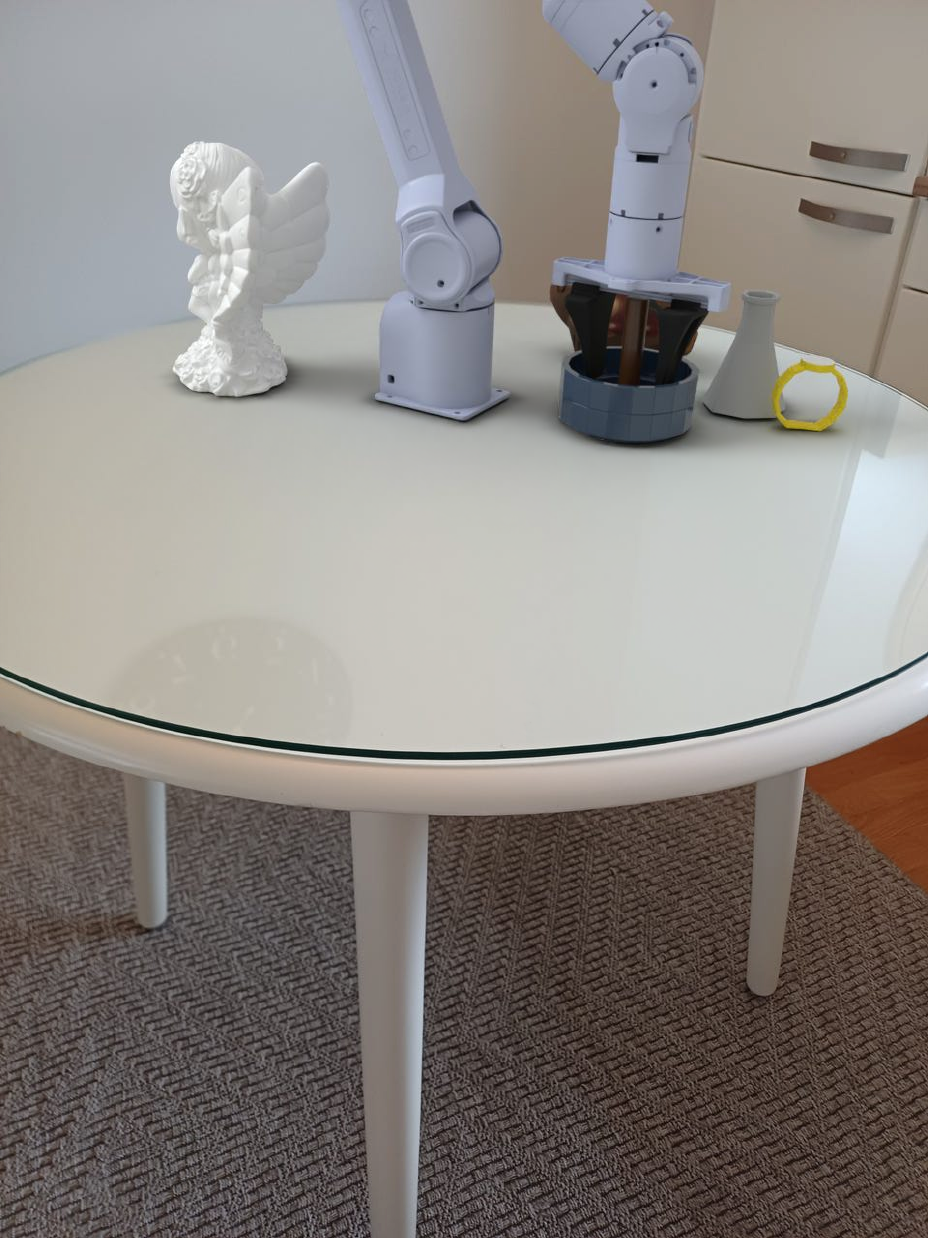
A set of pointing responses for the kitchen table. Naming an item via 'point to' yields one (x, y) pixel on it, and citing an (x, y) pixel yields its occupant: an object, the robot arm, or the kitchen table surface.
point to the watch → (818, 366)
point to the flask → (749, 363)
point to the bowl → (626, 400)
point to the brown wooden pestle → (633, 340)
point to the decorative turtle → (614, 319)
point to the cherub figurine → (242, 261)
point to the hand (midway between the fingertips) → (628, 384)
